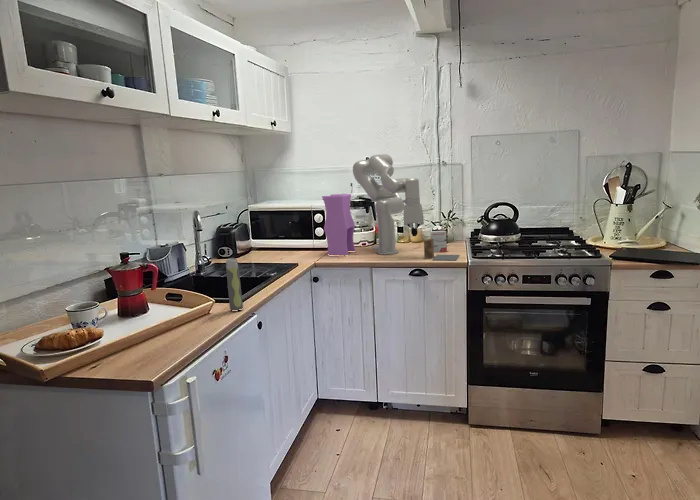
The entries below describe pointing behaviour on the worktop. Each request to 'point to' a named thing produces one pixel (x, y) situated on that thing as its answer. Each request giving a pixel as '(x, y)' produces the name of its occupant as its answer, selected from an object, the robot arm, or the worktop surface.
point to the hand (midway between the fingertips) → (414, 235)
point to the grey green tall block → (234, 284)
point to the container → (339, 224)
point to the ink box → (439, 241)
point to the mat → (446, 257)
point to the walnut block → (428, 248)
